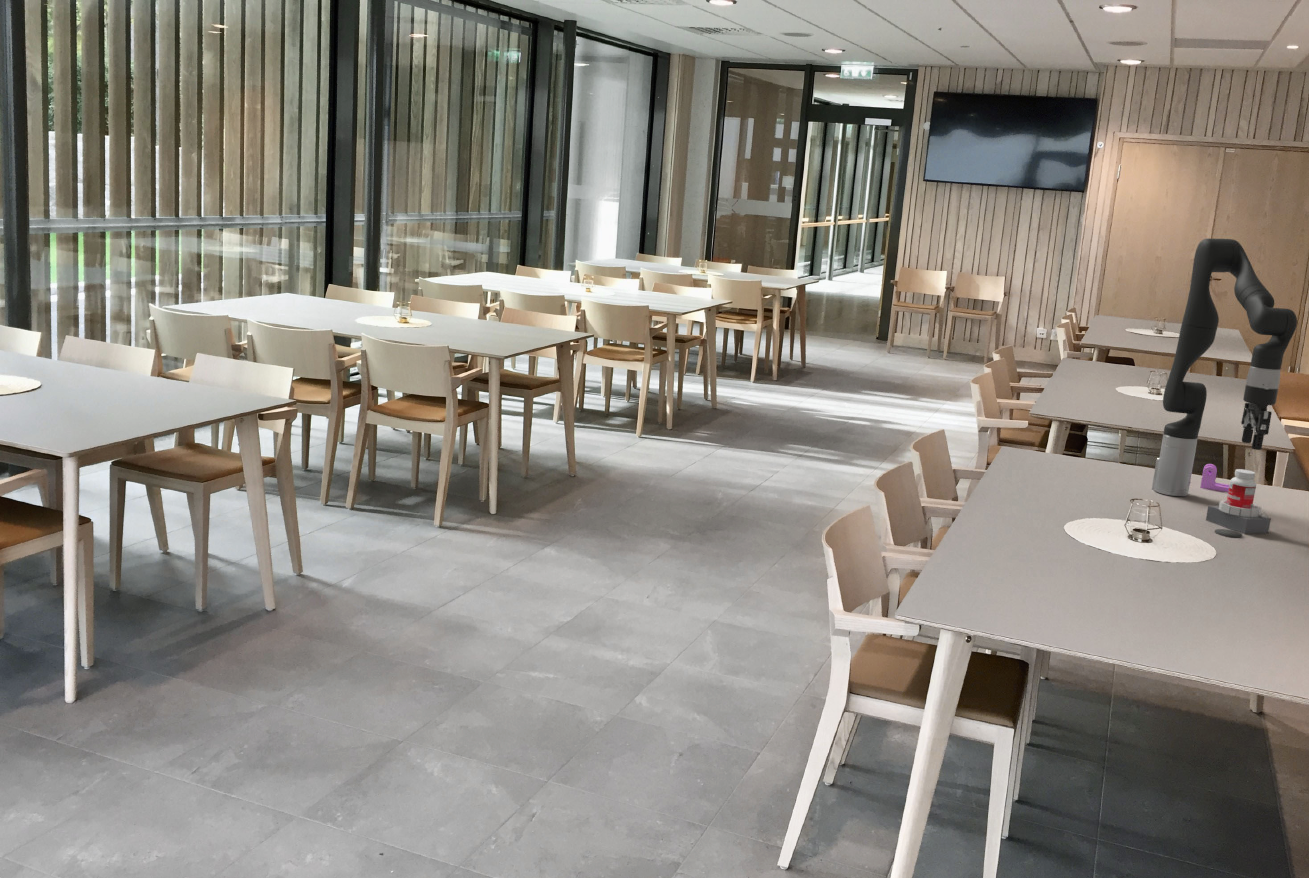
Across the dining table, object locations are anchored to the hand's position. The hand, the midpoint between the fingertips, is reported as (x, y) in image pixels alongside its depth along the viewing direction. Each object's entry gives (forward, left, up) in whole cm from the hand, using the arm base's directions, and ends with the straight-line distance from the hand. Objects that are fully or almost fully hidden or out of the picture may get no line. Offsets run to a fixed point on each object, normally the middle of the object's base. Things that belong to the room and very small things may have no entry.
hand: (1251, 446), depth 295 cm
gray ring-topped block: (0, 0, -22) cm, 22 cm away
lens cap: (+6, -9, -22) cm, 25 cm away
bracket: (-36, +33, -22) cm, 54 cm away
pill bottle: (0, 0, -18) cm, 18 cm away
